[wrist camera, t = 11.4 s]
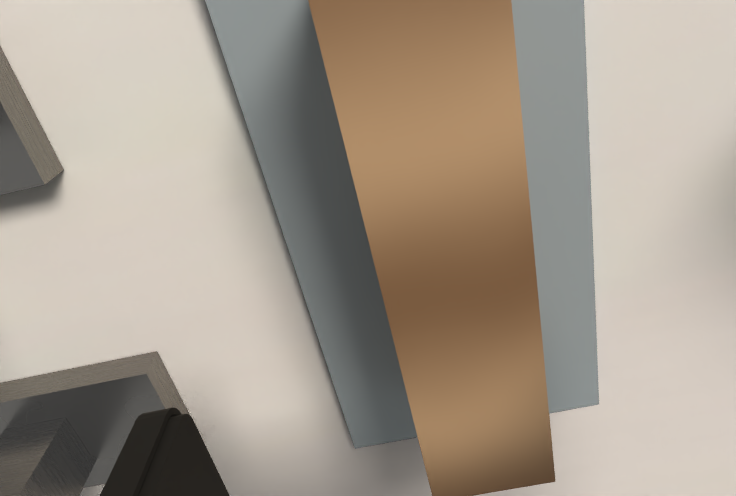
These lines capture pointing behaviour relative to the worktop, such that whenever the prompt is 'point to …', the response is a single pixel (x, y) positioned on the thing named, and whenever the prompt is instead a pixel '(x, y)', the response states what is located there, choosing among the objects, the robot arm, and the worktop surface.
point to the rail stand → (73, 386)
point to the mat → (344, 218)
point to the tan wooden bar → (448, 226)
